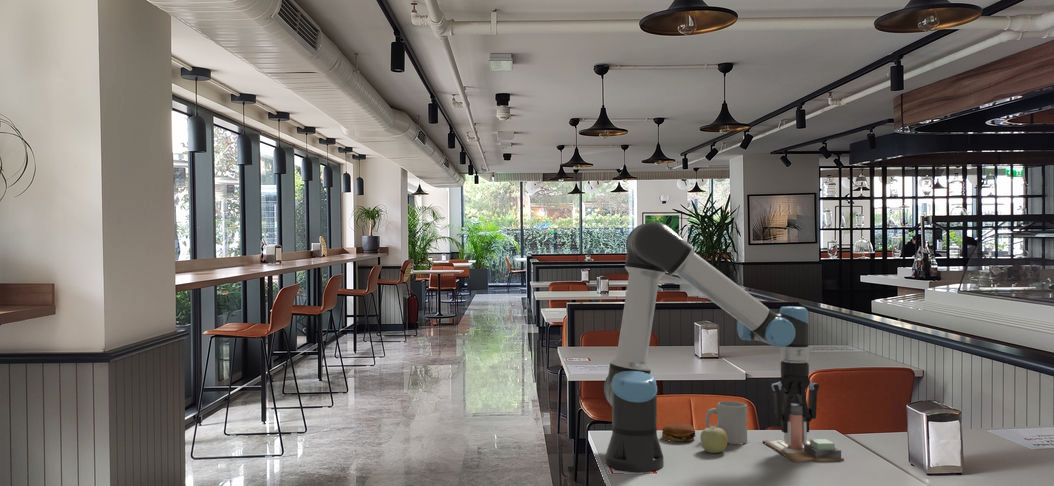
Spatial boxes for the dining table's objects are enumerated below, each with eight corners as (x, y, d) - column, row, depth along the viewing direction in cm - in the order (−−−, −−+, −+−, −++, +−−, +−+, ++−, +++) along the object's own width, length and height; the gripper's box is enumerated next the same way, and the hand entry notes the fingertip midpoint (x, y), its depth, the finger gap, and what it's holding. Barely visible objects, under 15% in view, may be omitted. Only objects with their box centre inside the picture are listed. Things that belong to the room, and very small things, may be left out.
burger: (656, 439, 212) (656, 423, 212) (672, 434, 219) (672, 419, 219) (685, 445, 206) (685, 429, 206) (701, 439, 212) (701, 424, 213)
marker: (792, 449, 197) (791, 406, 198) (784, 445, 202) (784, 403, 202) (805, 449, 198) (805, 406, 198) (798, 445, 202) (797, 403, 202)
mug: (744, 437, 214) (744, 401, 214) (749, 445, 205) (749, 407, 206) (704, 436, 216) (704, 400, 216) (707, 443, 207) (707, 406, 207)
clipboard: (793, 461, 188) (793, 451, 188) (762, 442, 208) (762, 433, 208) (844, 460, 189) (843, 450, 190) (808, 441, 209) (808, 432, 209)
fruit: (731, 455, 194) (730, 426, 194) (704, 455, 194) (704, 426, 194) (723, 448, 202) (723, 420, 202) (697, 448, 202) (697, 420, 202)
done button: (818, 450, 191) (818, 443, 191) (810, 445, 195) (810, 439, 195) (834, 450, 191) (834, 443, 191) (826, 445, 196) (826, 439, 196)
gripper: (771, 363, 196) (772, 448, 195) (829, 362, 197) (830, 446, 197) (760, 359, 204) (761, 441, 203) (816, 358, 205) (817, 440, 204)
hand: (795, 443), depth 200 cm, fingers closed on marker, 4 cm apart
